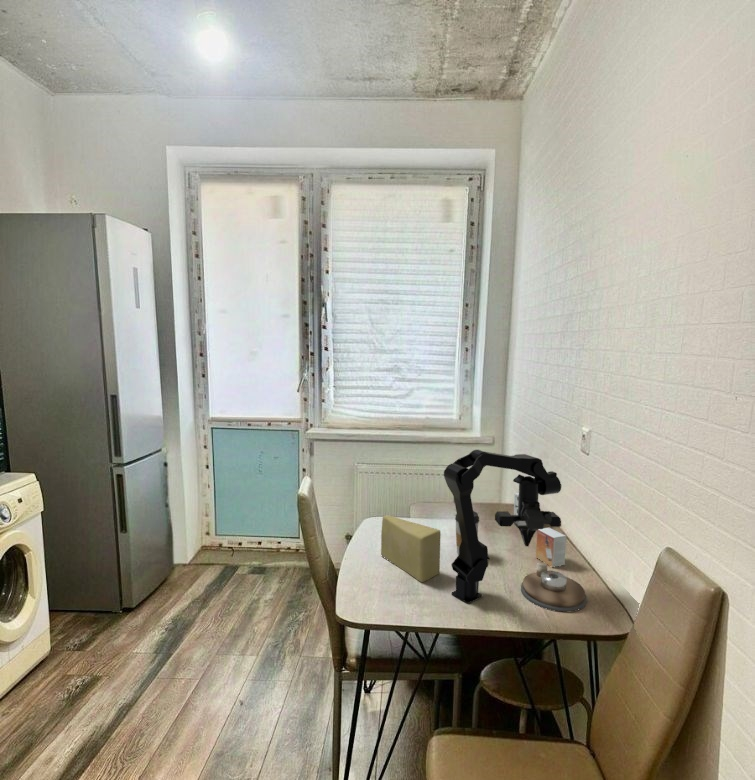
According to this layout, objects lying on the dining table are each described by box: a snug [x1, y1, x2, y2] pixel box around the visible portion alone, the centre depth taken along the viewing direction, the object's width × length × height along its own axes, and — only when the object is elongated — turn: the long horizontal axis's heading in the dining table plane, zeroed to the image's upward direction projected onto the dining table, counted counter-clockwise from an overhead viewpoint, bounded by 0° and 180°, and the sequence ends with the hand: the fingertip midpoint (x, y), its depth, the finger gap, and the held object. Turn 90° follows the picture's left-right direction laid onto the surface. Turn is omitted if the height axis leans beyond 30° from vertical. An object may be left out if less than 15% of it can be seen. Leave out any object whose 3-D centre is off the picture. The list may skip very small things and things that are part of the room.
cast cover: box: [541, 570, 567, 592], centre depth 131 cm, size 7×7×3 cm
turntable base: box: [520, 581, 587, 613], centre depth 132 cm, size 18×19×1 cm
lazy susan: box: [522, 561, 586, 607], centre depth 131 cm, size 17×17×5 cm
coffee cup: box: [454, 510, 480, 556], centre depth 156 cm, size 8×8×15 cm
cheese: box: [380, 514, 441, 583], centre depth 147 cm, size 22×10×15 cm, turn 44°
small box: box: [535, 527, 567, 568], centre depth 152 cm, size 8×6×10 cm
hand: (526, 545), depth 137 cm, fingers closed
